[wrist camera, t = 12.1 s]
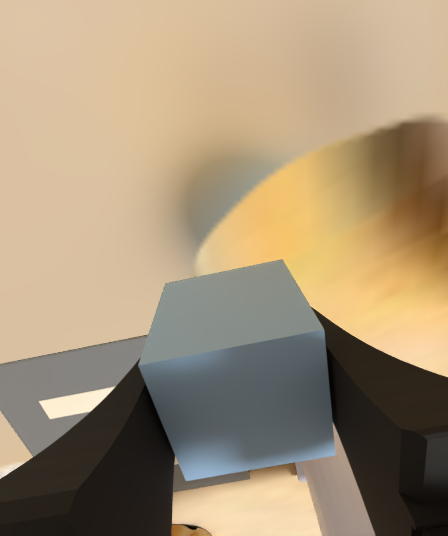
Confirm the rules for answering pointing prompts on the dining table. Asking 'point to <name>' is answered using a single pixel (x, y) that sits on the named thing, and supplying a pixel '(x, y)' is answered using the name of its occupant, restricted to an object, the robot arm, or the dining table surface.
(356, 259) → the dining table surface
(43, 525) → the robot arm
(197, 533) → the pastry
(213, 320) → the blue cube
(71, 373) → the board
